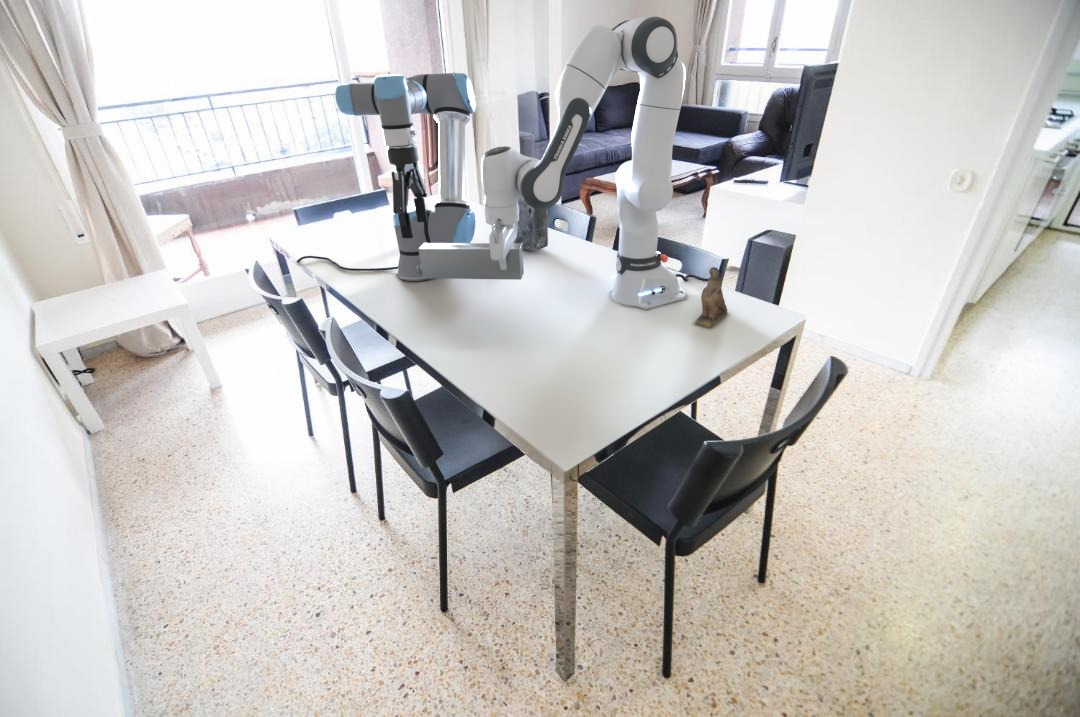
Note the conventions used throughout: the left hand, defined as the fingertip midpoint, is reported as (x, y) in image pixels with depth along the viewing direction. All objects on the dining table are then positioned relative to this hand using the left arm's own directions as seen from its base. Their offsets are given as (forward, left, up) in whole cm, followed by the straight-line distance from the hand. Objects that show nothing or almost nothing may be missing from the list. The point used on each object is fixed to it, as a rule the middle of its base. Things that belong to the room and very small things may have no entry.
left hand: (415, 229), depth 135 cm
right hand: (+24, +5, -10) cm, 26 cm away
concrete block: (+5, +63, -26) cm, 68 cm away
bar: (+15, +3, -13) cm, 20 cm away
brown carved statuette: (+79, +21, -26) cm, 86 cm away
